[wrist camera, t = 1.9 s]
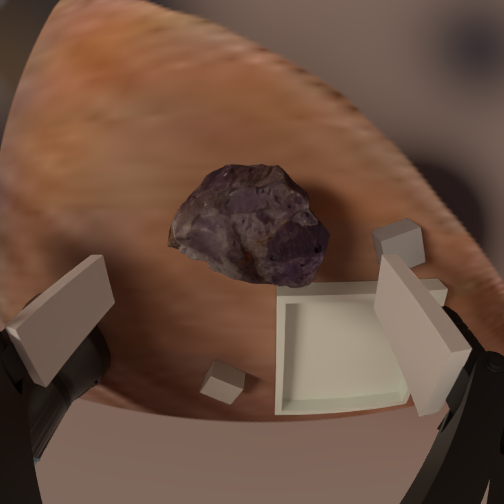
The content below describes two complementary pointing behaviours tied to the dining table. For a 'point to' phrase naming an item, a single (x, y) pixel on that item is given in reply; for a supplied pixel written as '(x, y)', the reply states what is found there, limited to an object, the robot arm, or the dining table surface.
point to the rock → (251, 227)
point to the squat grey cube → (400, 242)
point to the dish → (336, 349)
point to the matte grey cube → (223, 382)
